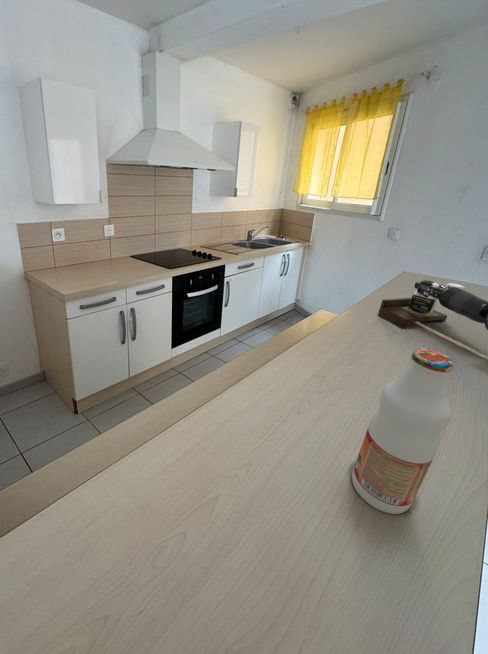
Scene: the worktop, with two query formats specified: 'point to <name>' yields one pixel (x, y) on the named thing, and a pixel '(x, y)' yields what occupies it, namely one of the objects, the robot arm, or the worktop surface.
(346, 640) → the worktop surface
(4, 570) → the worktop surface
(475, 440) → the worktop surface
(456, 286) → the white cylinder
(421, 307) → the medicine bottle
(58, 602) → the worktop surface
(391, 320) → the dark wooden tray
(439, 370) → the fruit juice
